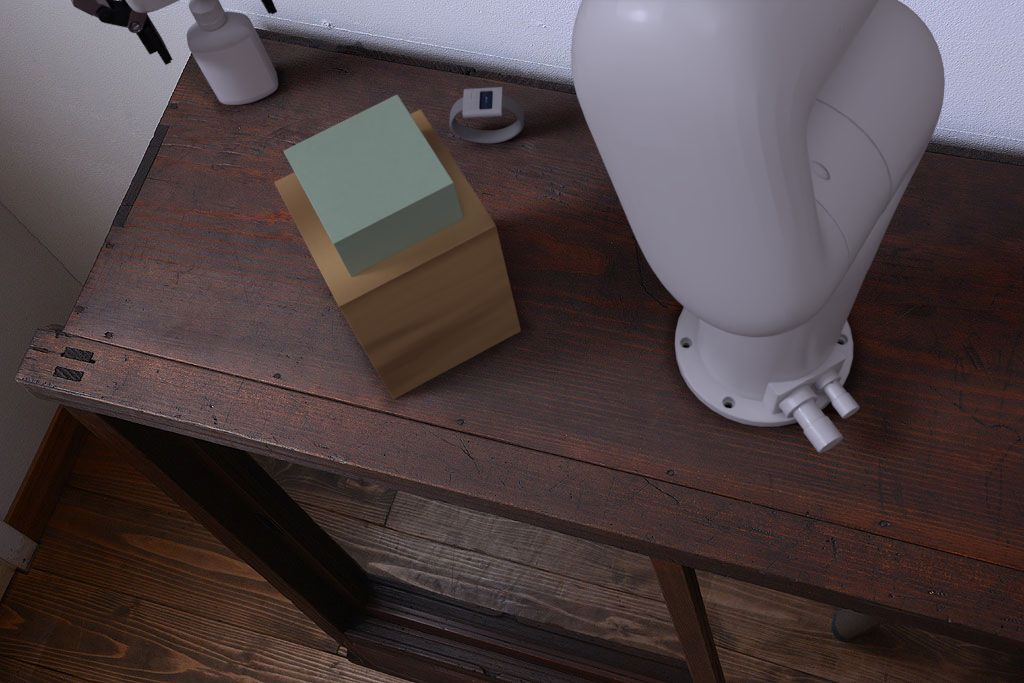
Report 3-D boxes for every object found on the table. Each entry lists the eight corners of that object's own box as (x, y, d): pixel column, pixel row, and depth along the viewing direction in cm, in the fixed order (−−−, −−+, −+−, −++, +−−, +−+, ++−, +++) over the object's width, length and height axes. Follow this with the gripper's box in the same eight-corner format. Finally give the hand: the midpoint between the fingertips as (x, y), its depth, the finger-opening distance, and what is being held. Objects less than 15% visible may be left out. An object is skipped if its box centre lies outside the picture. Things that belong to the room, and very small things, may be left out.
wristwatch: (453, 153, 82) (443, 115, 78) (455, 127, 84) (445, 88, 79) (526, 149, 82) (520, 111, 77) (527, 123, 83) (520, 84, 78)
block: (464, 219, 61) (453, 182, 58) (351, 277, 60) (333, 243, 57) (410, 133, 65) (397, 93, 61) (302, 187, 64) (282, 150, 60)
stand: (521, 331, 74) (496, 225, 61) (393, 399, 73) (339, 306, 60) (457, 228, 79) (420, 108, 66) (336, 290, 78) (273, 181, 64)
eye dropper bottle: (269, 112, 87) (217, 13, 76) (212, 104, 88) (153, 6, 77) (286, 74, 88) (237, -27, 78) (230, 67, 90) (175, -35, 79)
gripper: (13, -69, 63) (134, 103, 79) (254, -177, 65) (326, 11, 81) (-14, -133, 67) (107, 44, 82) (216, -235, 69) (293, -43, 84)
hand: (216, 27), depth 81 cm, fingers open, 9 cm apart
